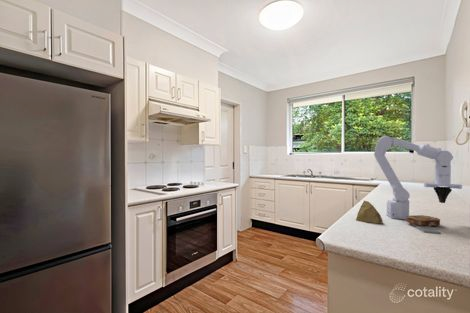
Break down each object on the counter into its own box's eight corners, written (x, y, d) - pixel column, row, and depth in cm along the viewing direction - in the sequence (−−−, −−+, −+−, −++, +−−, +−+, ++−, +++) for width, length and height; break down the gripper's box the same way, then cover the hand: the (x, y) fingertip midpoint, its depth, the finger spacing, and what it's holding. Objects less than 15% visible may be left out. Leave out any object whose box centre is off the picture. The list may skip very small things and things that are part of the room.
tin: (419, 220, 102) (402, 214, 110) (419, 227, 102) (401, 220, 110) (445, 220, 105) (426, 214, 113) (444, 226, 105) (425, 220, 114)
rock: (389, 218, 110) (369, 210, 119) (384, 205, 107) (364, 199, 116) (375, 233, 107) (356, 224, 116) (370, 221, 104) (351, 213, 113)
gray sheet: (423, 232, 97) (423, 230, 97) (408, 222, 111) (408, 220, 111) (440, 233, 95) (440, 231, 95) (422, 223, 110) (422, 221, 110)
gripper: (429, 175, 110) (428, 203, 110) (466, 176, 106) (466, 205, 106) (421, 173, 116) (421, 200, 117) (456, 175, 112) (456, 202, 112)
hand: (442, 202), depth 112 cm, fingers closed
